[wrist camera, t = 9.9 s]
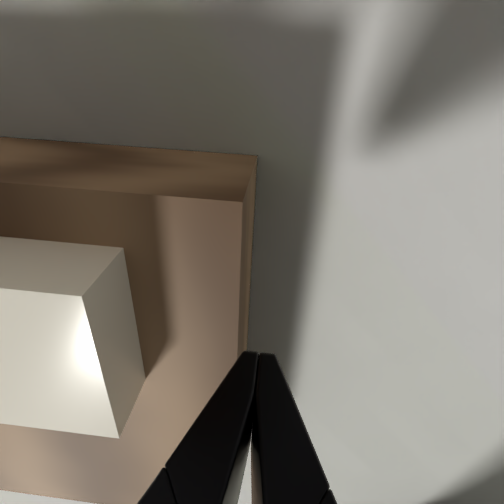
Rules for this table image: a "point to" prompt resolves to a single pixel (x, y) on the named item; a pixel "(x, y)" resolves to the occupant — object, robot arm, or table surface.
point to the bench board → (137, 294)
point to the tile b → (67, 337)
